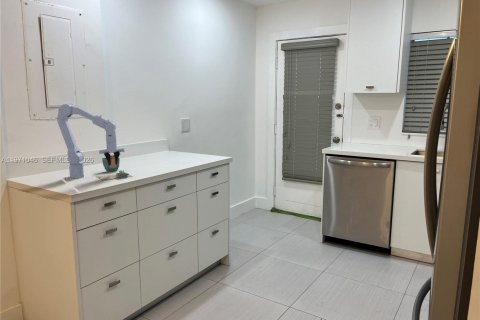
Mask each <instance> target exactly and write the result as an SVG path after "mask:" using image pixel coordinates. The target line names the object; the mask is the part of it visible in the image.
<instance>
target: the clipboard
mask: <svg viewBox="0 0 480 320" xmlns="http://www.w3.org/2000/svg"><path fill="white" fill-rule="evenodd" d="M126 173H127V175H128V178H133V177H134V176H133V175H130V174H129V173H128V172H126ZM95 178H97V179H99V180H100V181H103V182H105V181H113V180H120V179H122V178H120V179H119V178H117V177H116V173H113V174H106V175H98V176H95Z"/></svg>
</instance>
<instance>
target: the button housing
mask: <svg viewBox="0 0 480 320" xmlns="http://www.w3.org/2000/svg"><path fill="white" fill-rule="evenodd" d="M127 173H128V172H125V171H124V174H119V172H118V173H115V174H116V177H117V178H119V179H118V180H120V178H121V179H127V178H129V177H128V175H127Z"/></svg>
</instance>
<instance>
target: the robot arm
mask: <svg viewBox="0 0 480 320" xmlns="http://www.w3.org/2000/svg"><path fill="white" fill-rule="evenodd" d="M57 111H58V114H57V116H56V117H57V118H56V121H57V125H58V127H59V130H60V132H61V135H62V137H63V141H64V143H65V146H66V149H67V161H68V163H69V178H70V179H82V178H84V177H85V174H84V171H85V170H84V162H83V160H84V155H83V154H84V153H82V152H81V150H80V148H79V147H78V146H77V144H76V140H75V138H74V135H73V132H72V129H71V127H70V125H69V122H68V121H69V120H70V118H71V117H72V116H73V115H79V116H81V117H84V118H86V119H87V120H90V121H91V122H92V124H93V125H95V126H97V127H98V128H101V129H104V131H105V141H106V143H105V144H106V149H99V150H98V154H99V155H102V154H103V155H104V156H105V157H104V158H106V159H107V161H108V165H111V162H110V155H111V153H113V155H115V164H117V161H118V158H120V156H121V153H124V152H125V148H123V147H122V148H121V147H120V148H118V147H117V145H118V144H117V131H116V129H117V124H116V123H115V122H114V121H110V119H106V118H104V117H103V115H98V114H97V115H95V114H92V113H91V112H88V111H86V110H85V109H83V108H81V107H79V106H78V105H74V104H72V103H64V104H63V103H62V105H60V106H59V108H58V109H57Z"/></svg>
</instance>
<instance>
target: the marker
mask: <svg viewBox="0 0 480 320" xmlns="http://www.w3.org/2000/svg"><path fill="white" fill-rule="evenodd" d="M110 162H111V165H110V168H115V167H116V164H115V155H114V154H112V155H111V154H110Z"/></svg>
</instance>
